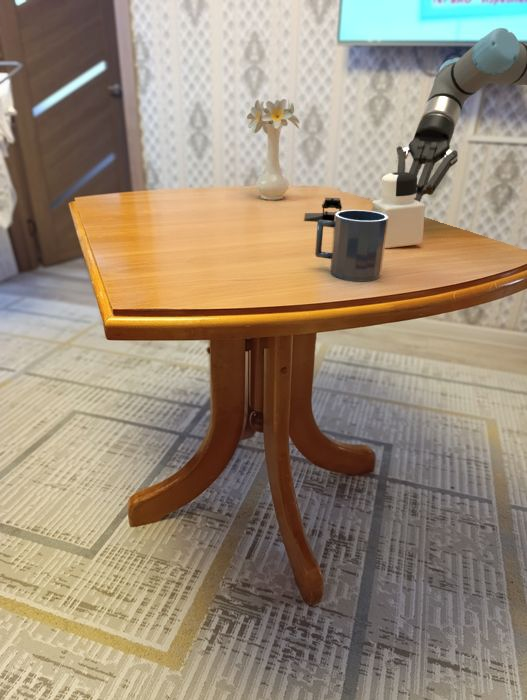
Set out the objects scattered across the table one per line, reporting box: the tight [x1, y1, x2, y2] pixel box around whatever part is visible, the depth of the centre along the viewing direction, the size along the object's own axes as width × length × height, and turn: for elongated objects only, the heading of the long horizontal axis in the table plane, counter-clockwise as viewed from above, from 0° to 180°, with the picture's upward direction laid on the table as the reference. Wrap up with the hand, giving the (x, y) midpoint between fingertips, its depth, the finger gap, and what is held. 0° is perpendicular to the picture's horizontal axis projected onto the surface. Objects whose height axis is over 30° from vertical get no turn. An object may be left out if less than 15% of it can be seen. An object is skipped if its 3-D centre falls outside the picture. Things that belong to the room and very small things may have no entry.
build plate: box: [304, 197, 343, 222], centre depth 120 cm, size 12×7×5 cm, turn 85°
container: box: [371, 171, 426, 249], centre depth 99 cm, size 8×8×13 cm
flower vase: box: [246, 98, 300, 201], centre depth 137 cm, size 13×18×25 cm
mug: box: [314, 209, 389, 283], centre depth 82 cm, size 11×8×10 cm
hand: (403, 218), depth 103 cm, fingers closed
